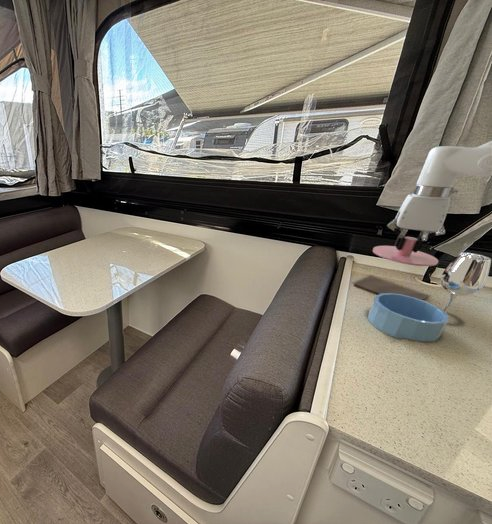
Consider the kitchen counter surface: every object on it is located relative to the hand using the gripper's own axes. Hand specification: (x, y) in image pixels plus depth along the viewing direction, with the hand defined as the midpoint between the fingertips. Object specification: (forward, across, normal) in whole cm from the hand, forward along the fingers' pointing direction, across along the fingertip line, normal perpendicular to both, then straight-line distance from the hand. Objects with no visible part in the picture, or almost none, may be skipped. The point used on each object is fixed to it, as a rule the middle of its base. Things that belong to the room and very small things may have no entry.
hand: (406, 249), depth 86 cm
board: (+16, 0, 0) cm, 16 cm away
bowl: (+16, 0, +23) cm, 28 cm away
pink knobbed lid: (+2, 0, 0) cm, 2 cm away
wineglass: (+16, -10, +13) cm, 23 cm away
